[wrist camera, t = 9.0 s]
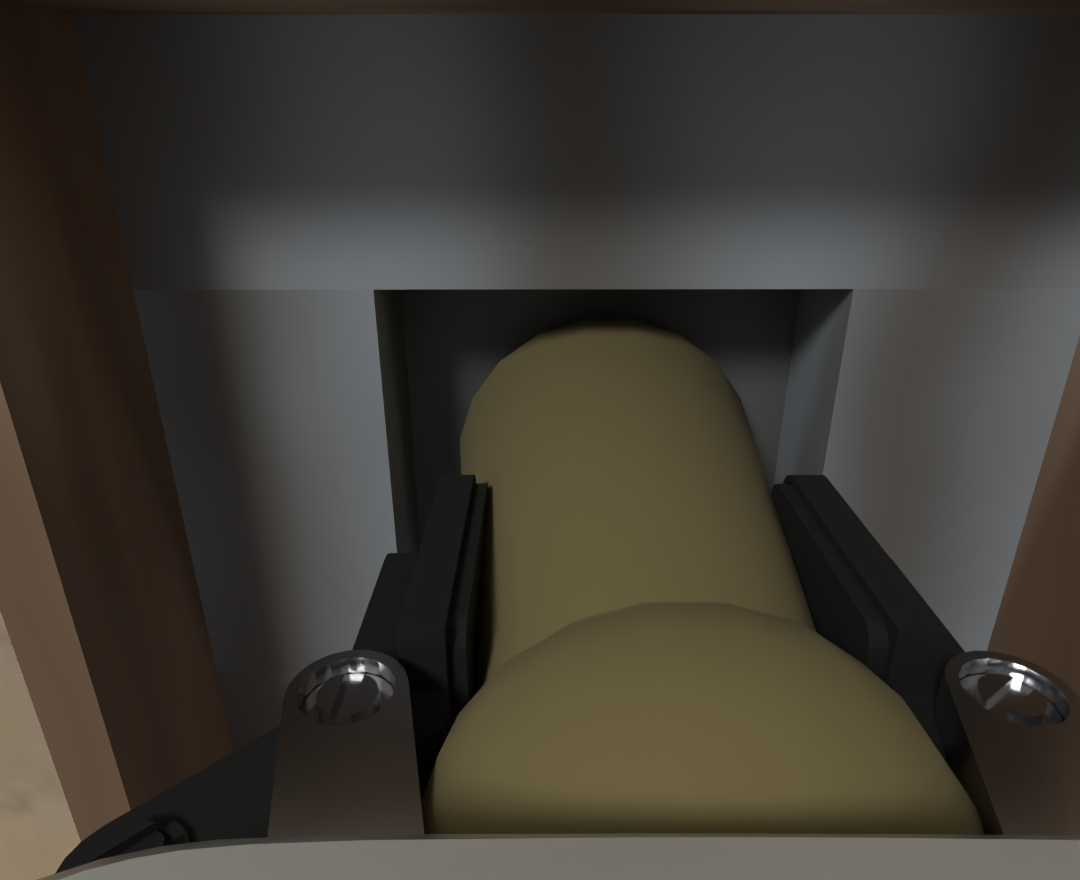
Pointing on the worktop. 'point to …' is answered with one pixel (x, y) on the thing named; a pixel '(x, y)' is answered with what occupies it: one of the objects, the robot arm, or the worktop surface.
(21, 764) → the worktop surface
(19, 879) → the worktop surface
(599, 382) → the cork
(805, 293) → the wooden box
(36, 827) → the worktop surface
